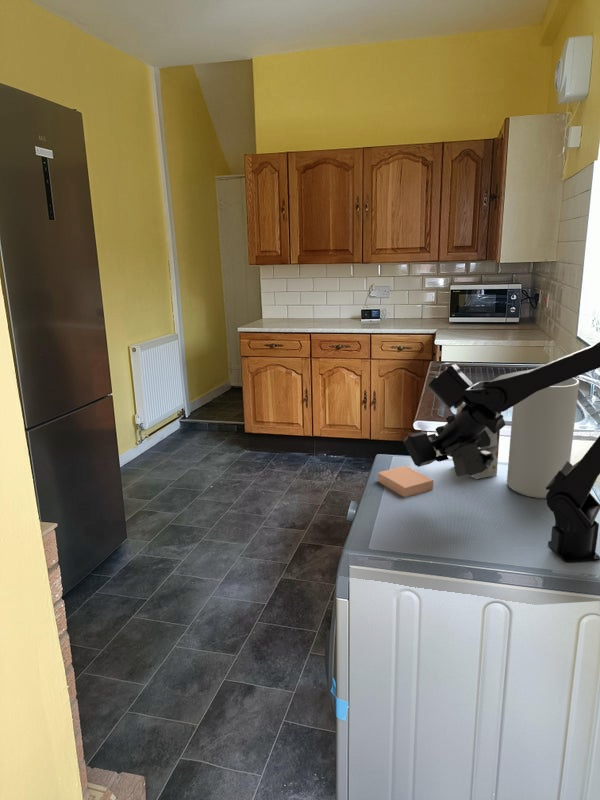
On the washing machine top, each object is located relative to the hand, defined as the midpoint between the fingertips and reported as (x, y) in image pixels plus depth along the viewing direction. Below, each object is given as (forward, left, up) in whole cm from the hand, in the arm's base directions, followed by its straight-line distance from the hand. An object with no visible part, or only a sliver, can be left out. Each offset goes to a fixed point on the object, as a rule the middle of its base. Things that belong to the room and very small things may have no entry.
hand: (428, 460), depth 121 cm
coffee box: (-16, -14, -9) cm, 23 cm away
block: (+1, -3, -8) cm, 9 cm away
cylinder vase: (-26, -3, -9) cm, 27 cm away
